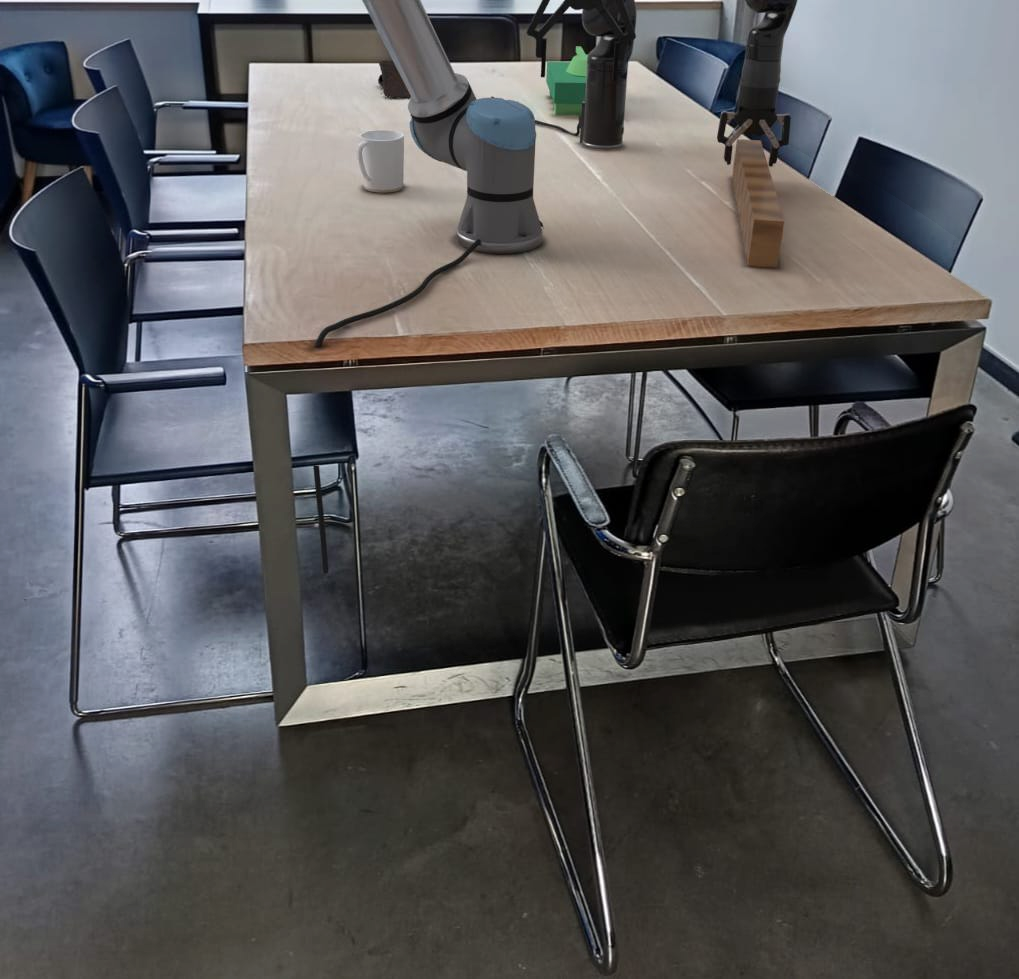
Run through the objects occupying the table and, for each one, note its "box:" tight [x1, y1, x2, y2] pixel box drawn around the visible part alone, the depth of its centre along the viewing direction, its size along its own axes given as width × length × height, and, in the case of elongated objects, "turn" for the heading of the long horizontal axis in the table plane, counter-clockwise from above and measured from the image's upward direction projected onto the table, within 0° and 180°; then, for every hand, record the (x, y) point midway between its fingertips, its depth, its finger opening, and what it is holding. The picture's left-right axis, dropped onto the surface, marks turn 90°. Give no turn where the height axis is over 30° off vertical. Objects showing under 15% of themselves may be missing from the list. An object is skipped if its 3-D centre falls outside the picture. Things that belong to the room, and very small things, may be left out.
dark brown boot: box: [377, 59, 411, 99], centre depth 299 cm, size 18×8×15 cm
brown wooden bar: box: [731, 138, 785, 269], centre depth 208 cm, size 55×5×8 cm, turn 173°
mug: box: [356, 129, 405, 194], centre depth 219 cm, size 11×9×10 cm
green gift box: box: [545, 45, 588, 116], centre depth 289 cm, size 18×12×35 cm
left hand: (578, 77), depth 208 cm, fingers open, 13 cm apart
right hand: (749, 164), depth 225 cm, fingers open, 8 cm apart
